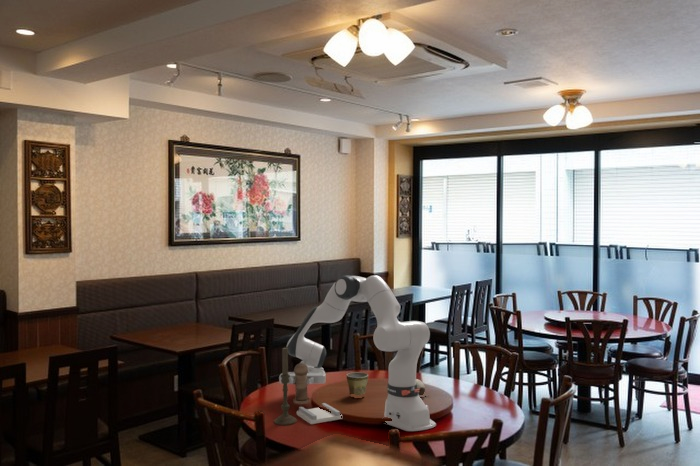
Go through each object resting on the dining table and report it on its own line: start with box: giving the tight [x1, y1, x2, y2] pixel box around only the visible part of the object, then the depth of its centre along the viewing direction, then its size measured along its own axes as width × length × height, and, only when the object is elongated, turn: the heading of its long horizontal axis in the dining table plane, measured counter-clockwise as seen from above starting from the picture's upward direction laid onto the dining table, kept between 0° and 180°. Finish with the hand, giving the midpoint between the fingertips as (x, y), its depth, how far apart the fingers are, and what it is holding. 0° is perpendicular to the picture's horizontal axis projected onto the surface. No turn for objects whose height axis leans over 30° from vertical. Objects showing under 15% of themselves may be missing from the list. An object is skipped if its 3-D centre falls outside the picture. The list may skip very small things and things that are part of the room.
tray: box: [296, 402, 343, 425], centre depth 247 cm, size 14×14×3 cm
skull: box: [416, 378, 426, 395], centre depth 277 cm, size 12×10×10 cm
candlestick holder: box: [273, 347, 298, 426], centre depth 241 cm, size 9×9×30 cm
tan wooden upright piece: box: [292, 362, 311, 405], centre depth 258 cm, size 7×7×16 cm
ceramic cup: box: [345, 371, 369, 395], centre depth 277 cm, size 13×10×10 cm
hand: (301, 382), depth 257 cm, fingers closed on tan wooden upright piece, 5 cm apart
